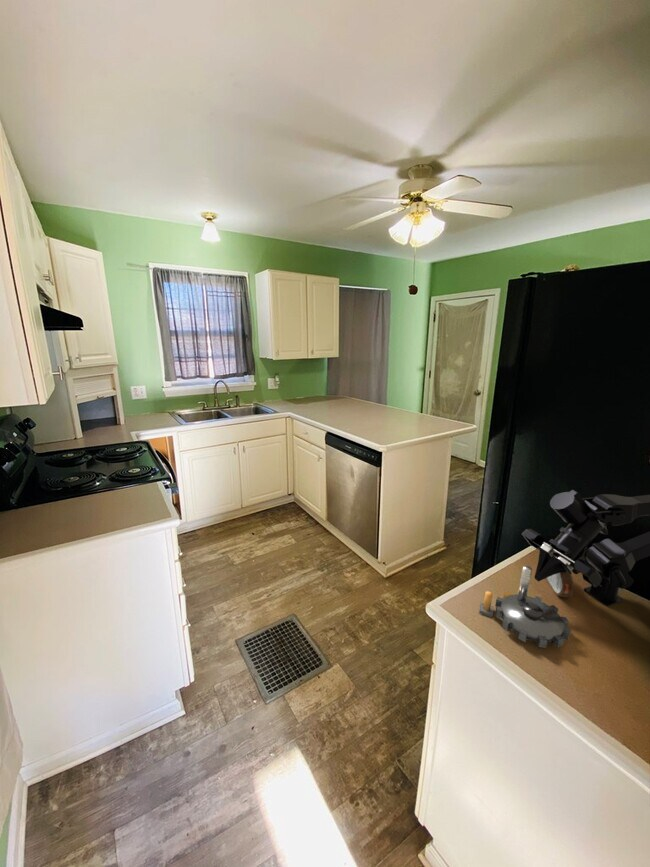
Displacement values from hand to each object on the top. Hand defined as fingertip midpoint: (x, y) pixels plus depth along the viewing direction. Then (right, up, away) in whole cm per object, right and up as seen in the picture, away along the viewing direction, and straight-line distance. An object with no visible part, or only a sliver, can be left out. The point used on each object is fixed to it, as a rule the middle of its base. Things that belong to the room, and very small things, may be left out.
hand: (536, 579), depth 90 cm
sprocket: (-4, -8, -5) cm, 10 cm away
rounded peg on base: (-13, -8, -1) cm, 15 cm away
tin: (+10, -6, +10) cm, 16 cm away
